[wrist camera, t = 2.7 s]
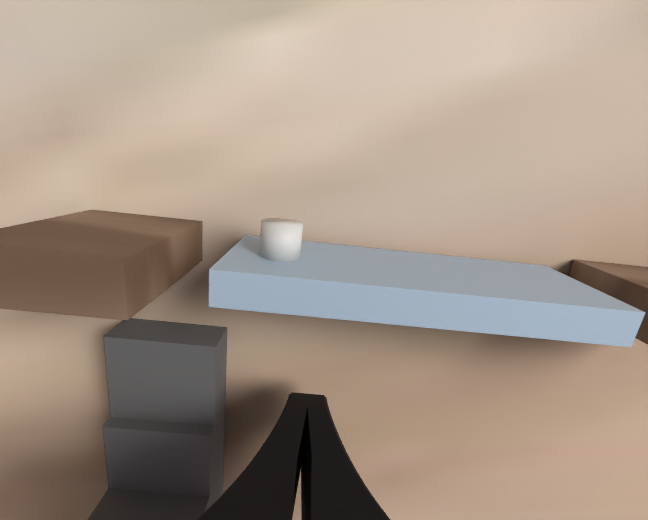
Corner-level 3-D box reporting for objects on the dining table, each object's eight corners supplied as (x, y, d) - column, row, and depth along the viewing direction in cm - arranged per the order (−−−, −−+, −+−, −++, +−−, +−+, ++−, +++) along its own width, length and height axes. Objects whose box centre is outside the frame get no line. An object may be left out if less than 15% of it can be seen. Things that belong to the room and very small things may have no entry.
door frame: (660, 305, 13) (853, 388, 8) (94, 249, 13) (-48, 304, 8) (675, 269, 13) (887, 335, 8) (91, 209, 12) (-62, 241, 7)
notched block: (222, 518, 16) (174, 687, 11) (140, 512, 16) (52, 679, 11) (227, 327, 14) (165, 433, 8) (127, 317, 13) (-2, 419, 8)
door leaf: (537, 290, 13) (631, 347, 9) (244, 261, 12) (208, 306, 8) (553, 238, 12) (660, 275, 8) (246, 206, 12) (209, 229, 8)
